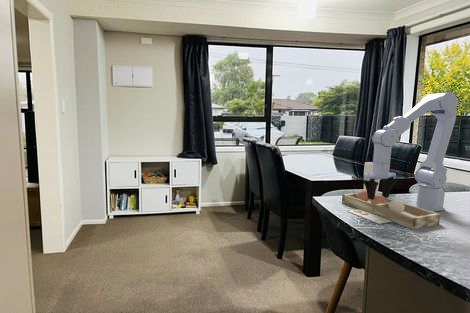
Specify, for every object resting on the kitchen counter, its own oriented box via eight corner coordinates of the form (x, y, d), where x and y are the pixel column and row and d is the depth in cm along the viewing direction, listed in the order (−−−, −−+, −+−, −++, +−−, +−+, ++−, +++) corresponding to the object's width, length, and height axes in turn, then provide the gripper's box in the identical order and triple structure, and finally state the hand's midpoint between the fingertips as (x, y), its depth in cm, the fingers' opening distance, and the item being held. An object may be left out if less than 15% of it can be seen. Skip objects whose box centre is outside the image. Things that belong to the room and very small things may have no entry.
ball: (362, 199, 131) (363, 187, 130) (372, 203, 127) (373, 190, 126) (353, 200, 129) (354, 188, 128) (363, 204, 125) (364, 191, 124)
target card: (359, 209, 121) (359, 208, 120) (391, 221, 108) (391, 220, 108) (347, 211, 118) (347, 210, 118) (378, 223, 105) (379, 222, 105)
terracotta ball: (376, 204, 125) (377, 191, 124) (387, 208, 120) (388, 195, 120) (367, 205, 123) (368, 192, 122) (378, 209, 118) (379, 196, 118)
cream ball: (394, 210, 118) (395, 197, 117) (406, 214, 113) (408, 200, 113) (384, 211, 116) (386, 198, 115) (397, 216, 111) (398, 202, 111)
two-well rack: (365, 200, 135) (366, 191, 134) (439, 224, 107) (440, 214, 107) (341, 202, 129) (342, 194, 129) (413, 229, 102) (414, 218, 101)
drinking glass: (380, 200, 135) (383, 165, 133) (363, 198, 137) (366, 163, 135) (376, 196, 142) (379, 162, 140) (360, 194, 143) (363, 161, 141)
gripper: (386, 160, 126) (382, 194, 128) (358, 161, 120) (355, 197, 122) (402, 162, 120) (398, 198, 122) (374, 164, 113) (370, 201, 115)
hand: (378, 198), depth 121 cm, fingers open, 7 cm apart
